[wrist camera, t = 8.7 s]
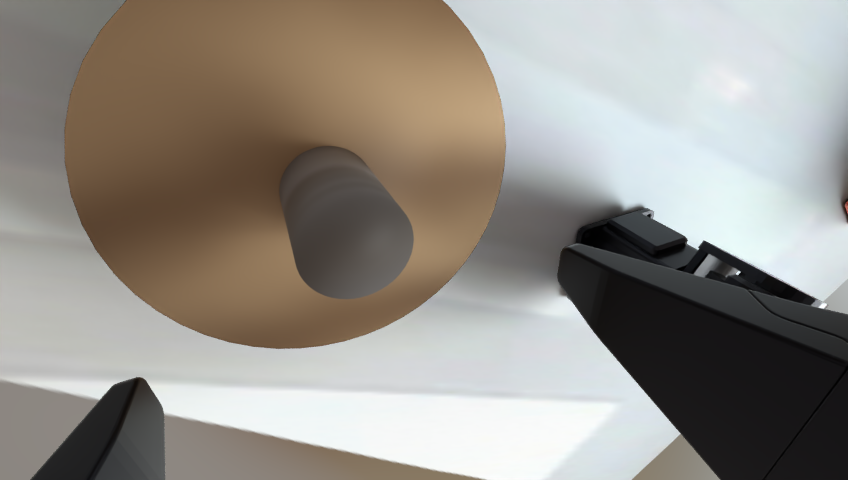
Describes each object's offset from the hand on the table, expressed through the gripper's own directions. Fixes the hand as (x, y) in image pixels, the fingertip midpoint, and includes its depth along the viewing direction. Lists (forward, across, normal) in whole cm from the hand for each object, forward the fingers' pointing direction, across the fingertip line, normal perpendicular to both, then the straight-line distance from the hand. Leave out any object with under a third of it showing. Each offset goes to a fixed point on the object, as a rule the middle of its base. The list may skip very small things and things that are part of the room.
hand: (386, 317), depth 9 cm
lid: (+8, 0, 0) cm, 8 cm away
